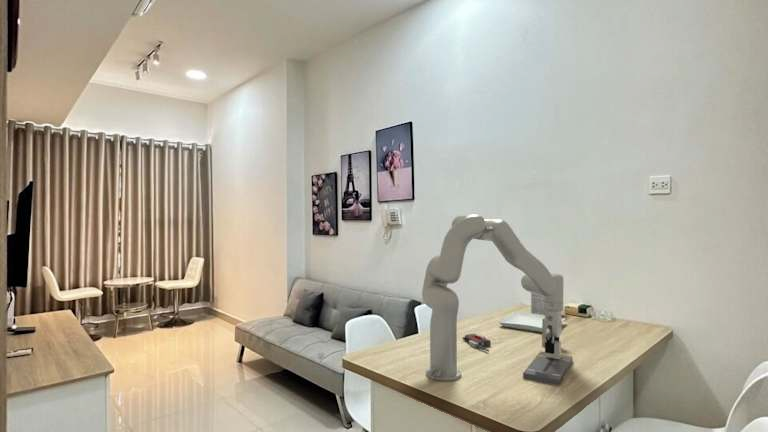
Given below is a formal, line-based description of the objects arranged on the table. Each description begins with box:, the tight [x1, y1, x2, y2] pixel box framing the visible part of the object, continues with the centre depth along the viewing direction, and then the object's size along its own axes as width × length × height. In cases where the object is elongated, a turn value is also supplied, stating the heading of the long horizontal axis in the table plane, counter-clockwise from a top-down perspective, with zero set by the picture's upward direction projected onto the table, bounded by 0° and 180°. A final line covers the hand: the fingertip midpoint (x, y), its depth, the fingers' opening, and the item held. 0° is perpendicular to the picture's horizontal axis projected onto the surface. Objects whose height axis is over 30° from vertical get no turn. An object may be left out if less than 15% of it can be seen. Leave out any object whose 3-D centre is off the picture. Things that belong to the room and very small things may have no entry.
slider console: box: [522, 350, 573, 387], centre depth 152 cm, size 28×12×3 cm, turn 147°
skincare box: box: [541, 318, 551, 347], centre depth 180 cm, size 6×4×12 cm
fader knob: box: [546, 340, 562, 359], centre depth 159 cm, size 3×5×6 cm, turn 57°
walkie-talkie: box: [462, 333, 491, 353], centre depth 181 cm, size 9×4×20 cm
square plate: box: [498, 311, 566, 333], centre depth 215 cm, size 27×27×4 cm
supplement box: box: [530, 292, 545, 315], centre depth 240 cm, size 13×13×18 cm
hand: (552, 349), depth 158 cm, fingers open, 9 cm apart
